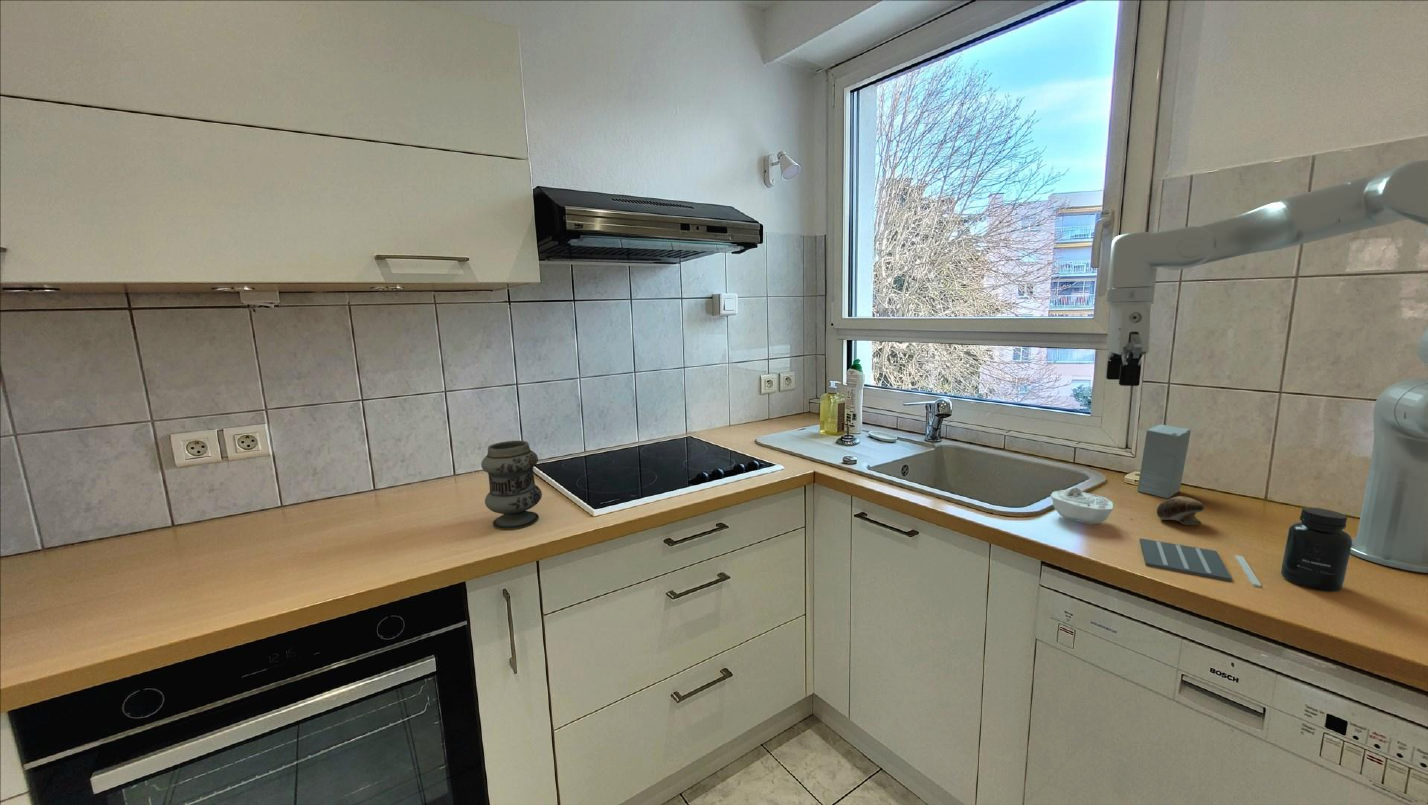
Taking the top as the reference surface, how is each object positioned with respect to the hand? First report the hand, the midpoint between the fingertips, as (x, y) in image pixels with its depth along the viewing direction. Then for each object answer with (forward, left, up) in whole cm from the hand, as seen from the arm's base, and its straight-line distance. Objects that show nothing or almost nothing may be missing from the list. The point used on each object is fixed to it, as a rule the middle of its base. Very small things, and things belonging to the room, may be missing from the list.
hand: (1121, 382), depth 110 cm
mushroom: (-12, -4, -30) cm, 32 cm away
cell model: (+5, +5, -30) cm, 30 cm away
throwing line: (-19, +17, -29) cm, 38 cm away
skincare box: (-11, -25, -30) cm, 41 cm away
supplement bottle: (-26, +17, -30) cm, 43 cm away
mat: (-10, +17, -29) cm, 35 cm away
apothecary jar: (+111, +67, -30) cm, 133 cm away
